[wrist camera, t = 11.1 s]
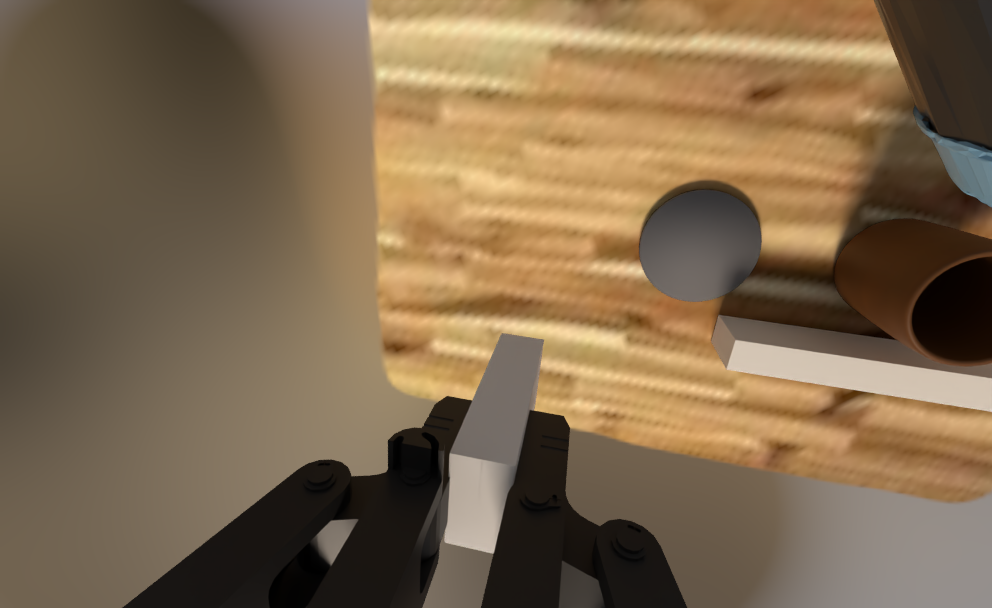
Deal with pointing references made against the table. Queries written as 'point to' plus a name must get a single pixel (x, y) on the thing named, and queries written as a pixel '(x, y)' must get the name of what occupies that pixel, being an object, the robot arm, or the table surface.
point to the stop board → (848, 362)
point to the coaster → (700, 245)
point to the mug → (923, 287)
